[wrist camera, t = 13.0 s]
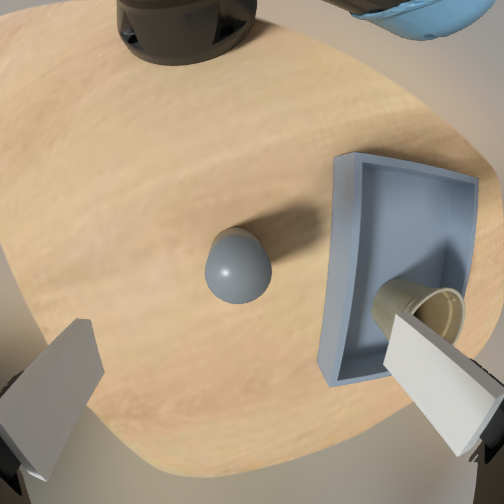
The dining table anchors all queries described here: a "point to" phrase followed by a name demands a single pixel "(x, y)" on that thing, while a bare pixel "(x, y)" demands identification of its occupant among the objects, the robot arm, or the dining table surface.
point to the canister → (237, 266)
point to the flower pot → (420, 307)
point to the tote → (388, 251)
